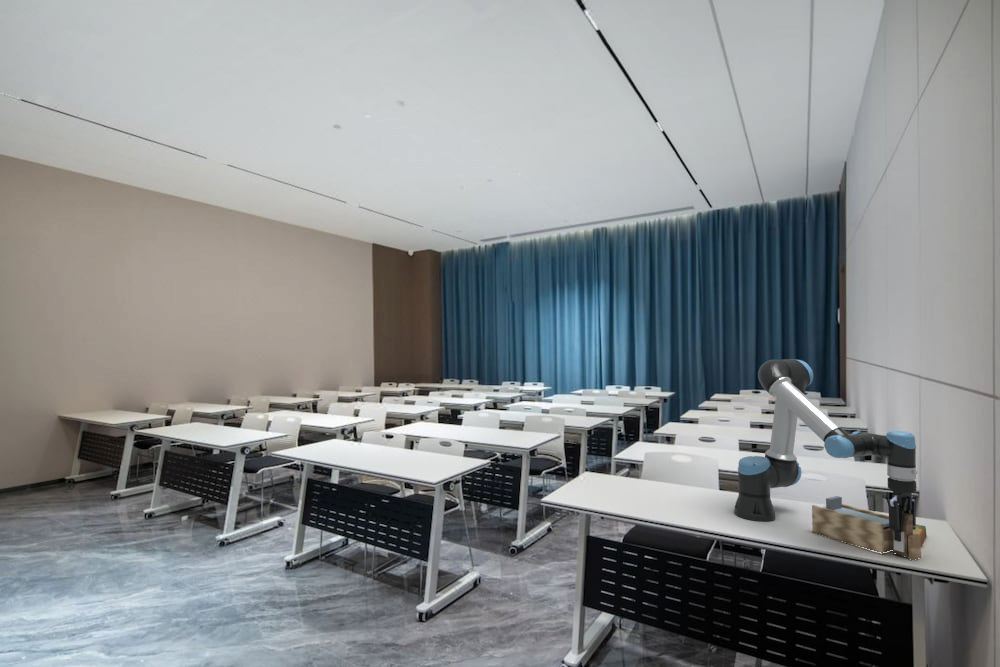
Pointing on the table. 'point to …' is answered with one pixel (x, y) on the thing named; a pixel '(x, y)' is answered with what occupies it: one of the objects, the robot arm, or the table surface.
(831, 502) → the lid
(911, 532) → the brown block
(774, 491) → the table surface
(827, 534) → the wooden box
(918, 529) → the carton
